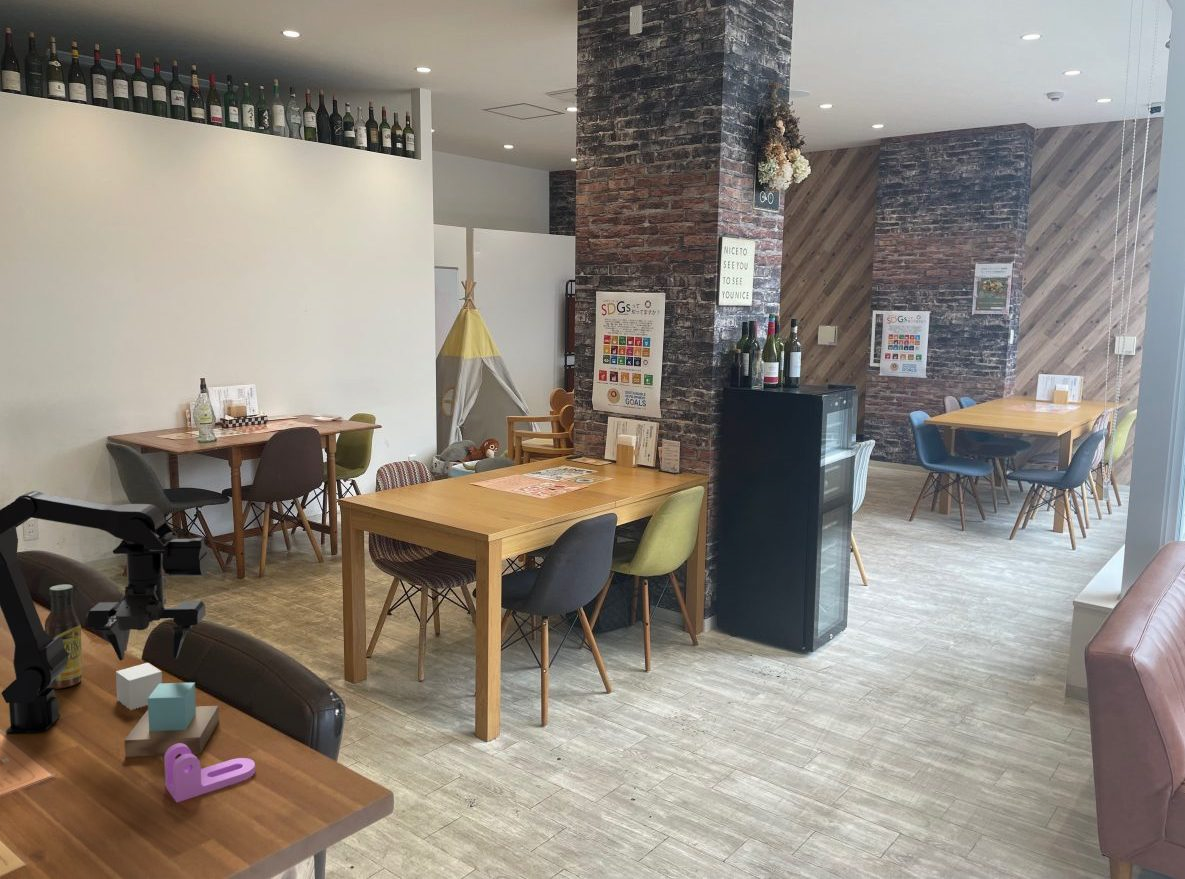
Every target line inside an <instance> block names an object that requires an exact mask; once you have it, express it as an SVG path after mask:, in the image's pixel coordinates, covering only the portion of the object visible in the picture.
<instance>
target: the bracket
mask: <svg viewBox="0 0 1185 879" xmlns="http://www.w3.org/2000/svg"><path fill="white" fill-rule="evenodd" d="M178 754H181V755H180V756H179V755H178ZM163 756H164V761H163V762H164V778H165V781H164V783H165V789H166V790H167V791H168V793H169V794H170V795H171V797H172V799H173V800H174V801H175V802H176V803H180V802H182V801H186V800H188V799H192V798H195V797H197V796H200V795H201V796H202V795H204V794H206V793H207V794H208V793H211V792H214V791H216V790H219V789H222V788H225V787H229V786H232V785H235V784H238V783H241V782H243V780H244V781H247V780H249V779H250V778H252V777H253V776H254V775H255V774H256V773H255V772H256V764H255V763H256V762H255V761H254V760H252V759H251V758H246V757H239V758H238V757H237V758H232V759H229V760H226V761H222V762H218V763H217V764H213V765H209V766H207V767H203V768H202V767H201V761H200V760H199V759H198V757H197V756H196V754H192V753H191V750H190V749H189V748H188V747H187V745H185V744H183V743H177V744H174V745H172V746H171V747H170V748H169V749H168V750H167V751H166V753H165V755H163ZM177 756H178V757H177ZM176 757H177V758H176ZM253 774H254V775H253ZM251 776H252V777H251ZM248 778H249V779H248ZM246 779H247V780H246ZM228 785H229V786H228Z"/></svg>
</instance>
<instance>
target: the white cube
mask: <svg viewBox="0 0 1185 879" xmlns="http://www.w3.org/2000/svg"><path fill="white" fill-rule="evenodd" d="M162 673H163V672H162V670H160V669H159V668H157V667H155V666H154V665H153V664H151V663H150V662H145V663H142V664H138V665H134V666H131V667H127V668H123V669H119V670H116V671H115V679H116V680H115V681H116V682H115V685H116V698H117V699H116V700H118V702H119V701H120V702H121V703H122V704H121V703H120V702H119V703H120V704H121V705H123V706H124V705H125V706H126V707H125V706H124V707H125V708H127V709H128V708H129V709H130V711H132V710H133V709H134V710H135V709H136V708H137V709H139V707H140V708H143V707H146V706H148V697H149V696H150V695H151V693H152V692H153V691H154V690H155V688H156V687H157V686H158V684H160V683H163V674H162ZM145 705H146V706H145ZM142 706H143V707H142ZM129 709H128V710H129ZM134 710H133V711H134Z"/></svg>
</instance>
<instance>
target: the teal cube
mask: <svg viewBox="0 0 1185 879" xmlns="http://www.w3.org/2000/svg"><path fill="white" fill-rule="evenodd" d="M196 705H197V702H196V682H170V683H169V682H168V683H166V682H164V683H163V682H162V683H160V684H158V686H157V687H156V688H155V690H154V691H153V692H152V693H151V695H150V696H149V697H148V705H147V710H148V718H149V731H168V730H186V729H187V727H188V726H189V724H190V723H191V721H192V719H193V718H194V716H195V715H196V707H197V706H196Z"/></svg>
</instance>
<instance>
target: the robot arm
mask: <svg viewBox="0 0 1185 879" xmlns="http://www.w3.org/2000/svg"><path fill="white" fill-rule="evenodd" d="M30 519H38V520H43V521H49V522H56V523H62V524H67V525H71V526H72V525H73V526H78V527H79V526H81V527H85V528H90V529H97V530H101V531H104V532H106V533H108V534H110V535H111V536H113V537H115V538H117V539H120V540H121V541H120V543H119V545H118V546H117V547H115V548H114V549H112V553H113V554H114V555H124V554H125V559H126V561H125V562H126V578H127V585H125V588H124V589H125V590H124V595H123V596H124V597H123V600H122V601H121V602H119V601H117V602H115V601H114V602H113V601H111V602H110V601H108V602H107V601H105V602H103V601H102V602H100V601H99V602H97V603H96V605H94V606H93V607H92V608H90V609H89V611H87V612H86V614H85V618H84V619H85V628H93V629H94V631H95V632H100V633H102V634H104V635H105V636H106V638H107V639H108V640H109V642H110V644H111V646H112V648H113V650H114V652H115V654H116V656H117V659H118V660H119V661H123V660H124V659H125V653H126V652H125V651H126V648H125V633H124V632H125V631H127V630H129V631H130V630H137V631H144V630H146V629H148V627H149V626H150V624H151V623H152V622H153V621H158V622H159V621H160V620H162V619H173V623H175V624H174V625H173V627H172V628H171V629H172V632H173V643H172V644H173V645H172V654H173V655H172V656H173V660H177V659H178V657H179V654H180V652H181V648H182V646H183V643H184V640H185V638H186V634H187V632H188V631H189V630H190V629H192V628H193V626H196V625H198V624H199V623H200V622H201V621H202V620H203V618H205V616H206V614H207V612H206V605H205V603H204V602H203V601H202V600H192V601H191V600H188V601H187V600H182V601H181V602H180V603H179V604H178V605H177V607H176V606H175V607H165V605H166V604H167V599H166V597H165V594H164V593H165V592H164V584H165V583H166V576H164V574H166V575H167V574H168V575H169V576H170V577H204V576H206V575H207V572H208V568H209V561H210V553H209V551H208V548H207V545H206V543H205V538H204V537H193V538H179V536H178V534H177V533H176V531H175V530H174V529H173V528H172V527H171V525H169V524H168V523H167V521H166V520H165V515H164V513H163V512H162V511H161V509H160V507H158V506H157V505H154V504H151V503H128V504H116V505H115V504H106V503H105V504H104V503H99V502H93V501H87V500H82V499H77V498H70V497H64V496H59V495H58V496H57V495H52V494H47V493H43V492H40V491H37V490H31V491H29V492H26V493H24V494H23V495H22V494H21V495H20V496H18V497H17V498H16V499H14V501H12V502H11V503H9V504H8V505H6V506H4V507H2V508H1V509H0V609H1V613H2V614H3V617H4V620H5V622H6V625H7V628H8V630H9V633H10V635H11V638H12V641H13V643H14V653H13V669H14V675H15V679H14V680H13V681H12V682H11V683H10V684H9V685H8V686H7V687H5V688H4V689H3V690H2V692H1V695H2V697H3V700H4V702H5V703H6V704H8V709H9V710H8V711H9V724H10V726H8V727H7V729H6V730H5V733H6V734H23V733H24V734H25V733H44V732H46V731H47V730H48V729H50V727H52V725H53V724H54V723H55V722H56V721H57V720H58V719H59V718H60V717H61V714H60V712H59V702H58V697H57V695H55V688H50V686H51V685H52V684H53V683H55V682H56V680H57V677H58V676H59V675H60V674H61V673H62V672H63V671H64V670H65V668H66V666H67V657H68V656H69V654H68V653H67V651H66V650H65V648H64V645H63V640H62V638H61V636H59V637H57V638H55V639H53V638H52V637H50V636H49V635H48V634H47V633H46V632H45V628H44V626H43V624H42V622H41V619H40V616H39V613H38V611H37V608H36V605H35V603H34V600H33V598H32V595H31V592H30V590H29V587H28V584H27V582H26V580H25V576H24V575H23V572H22V569H21V567H20V564H19V561H18V557H17V556H18V548H19V537H18V533H17V531H18V530H17V528H18V527H19V526H21V525H22V524H24V523H25V522H27V521H29V520H30Z"/></svg>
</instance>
